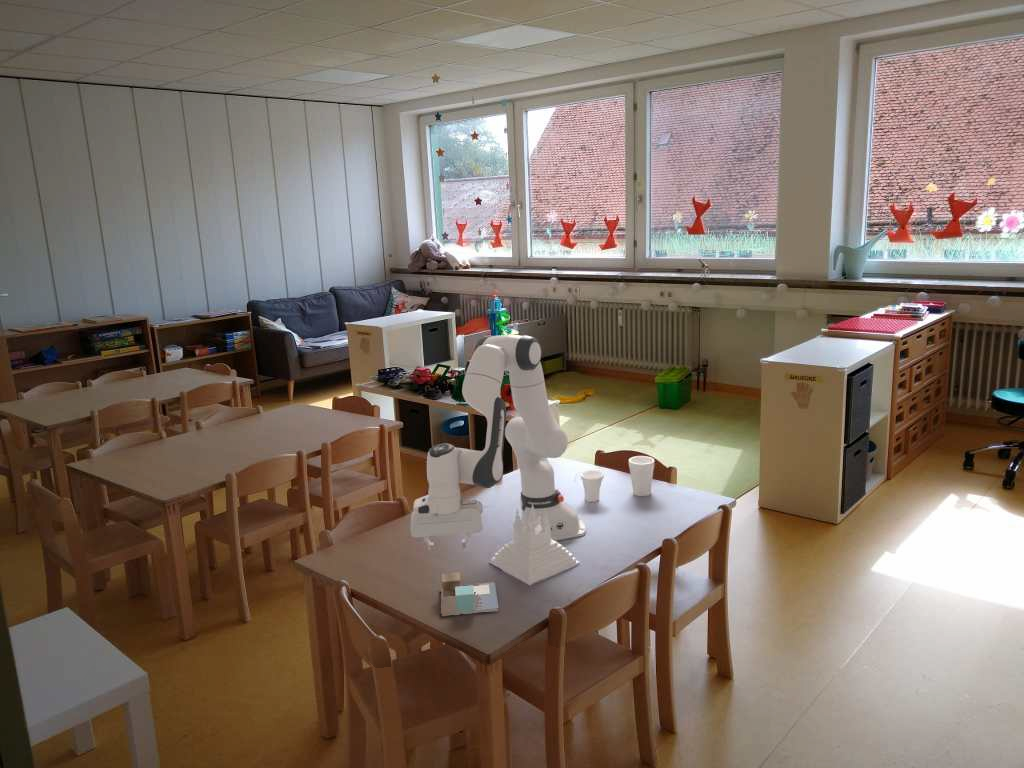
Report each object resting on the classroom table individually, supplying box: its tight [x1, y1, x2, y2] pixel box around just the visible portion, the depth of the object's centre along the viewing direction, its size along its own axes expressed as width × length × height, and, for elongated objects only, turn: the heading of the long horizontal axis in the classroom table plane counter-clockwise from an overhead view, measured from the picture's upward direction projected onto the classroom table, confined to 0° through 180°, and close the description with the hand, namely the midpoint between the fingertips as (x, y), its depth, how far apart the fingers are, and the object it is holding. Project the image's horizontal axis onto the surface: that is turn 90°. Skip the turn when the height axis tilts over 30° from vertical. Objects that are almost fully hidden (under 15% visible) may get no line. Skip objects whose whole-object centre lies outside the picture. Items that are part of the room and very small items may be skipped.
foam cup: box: [628, 455, 655, 497], centre depth 289 cm, size 10×9×13 cm
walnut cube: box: [441, 571, 462, 597], centre depth 221 cm, size 5×5×5 cm
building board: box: [473, 581, 499, 610], centre depth 219 cm, size 16×15×1 cm
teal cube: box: [455, 584, 475, 611], centre depth 214 cm, size 5×5×5 cm
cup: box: [579, 469, 605, 503], centre depth 286 cm, size 9×9×10 cm
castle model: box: [491, 503, 581, 586], centre depth 237 cm, size 20×20×18 cm
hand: (448, 548), depth 219 cm, fingers open, 8 cm apart
